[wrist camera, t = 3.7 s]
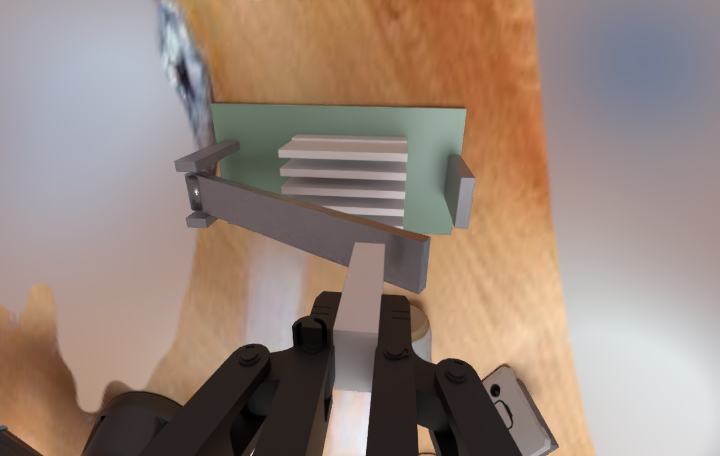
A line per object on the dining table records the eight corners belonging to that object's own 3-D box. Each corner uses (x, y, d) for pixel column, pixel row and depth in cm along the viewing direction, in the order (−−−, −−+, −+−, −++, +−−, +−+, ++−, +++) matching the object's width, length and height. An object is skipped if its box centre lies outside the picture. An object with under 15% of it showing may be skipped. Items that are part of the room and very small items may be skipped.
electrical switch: (504, 361, 43) (536, 437, 35) (534, 379, 44) (572, 456, 36) (451, 403, 47) (469, 480, 39) (480, 418, 48) (504, 496, 40)
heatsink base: (232, 220, 39) (187, 262, 31) (215, 102, 34) (155, 114, 26) (449, 230, 37) (464, 279, 29) (464, 107, 32) (487, 122, 24)
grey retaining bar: (205, 203, 31) (187, 209, 29) (199, 169, 29) (180, 173, 28) (428, 283, 20) (415, 297, 18) (433, 234, 18) (419, 245, 17)
